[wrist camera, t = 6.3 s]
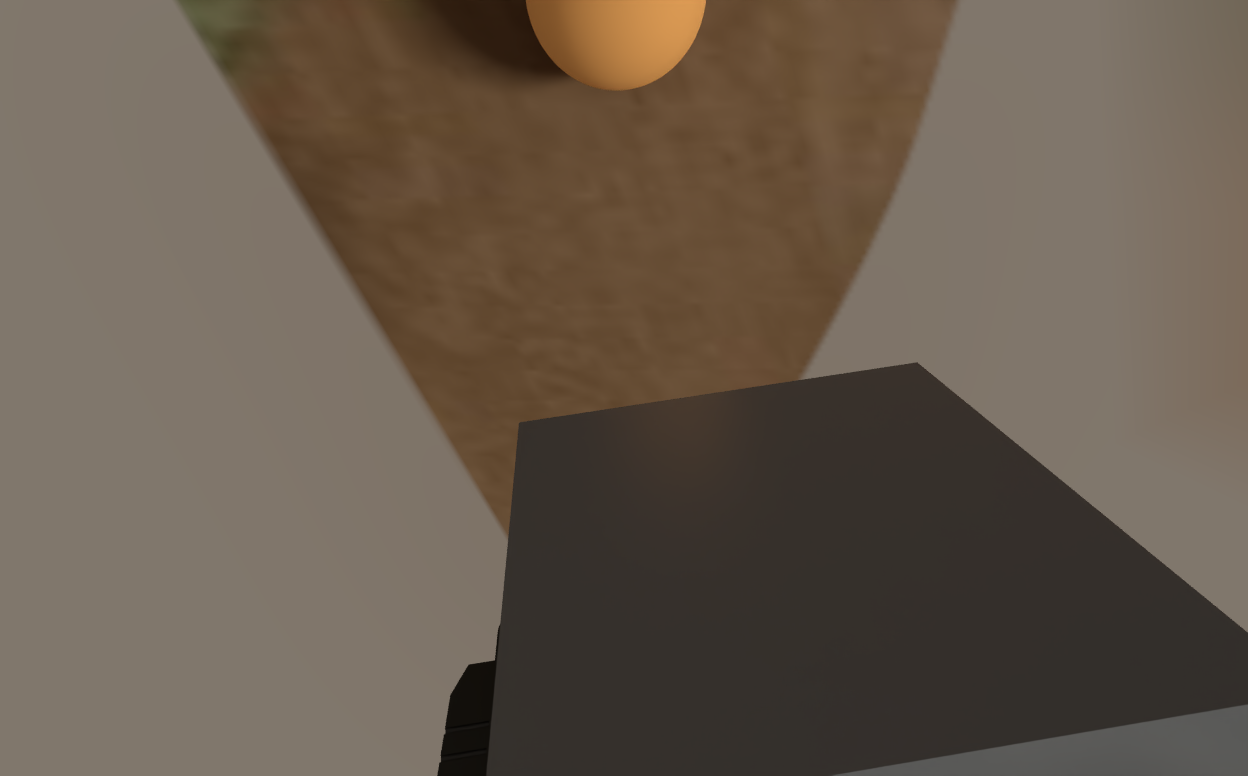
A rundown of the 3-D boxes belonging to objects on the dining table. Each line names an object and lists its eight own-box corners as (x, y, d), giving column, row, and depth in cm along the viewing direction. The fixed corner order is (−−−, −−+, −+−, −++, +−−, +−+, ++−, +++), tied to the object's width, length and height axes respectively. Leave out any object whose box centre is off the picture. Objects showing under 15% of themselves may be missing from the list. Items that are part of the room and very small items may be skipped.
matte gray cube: (579, 705, 14) (600, 1181, 8) (519, 422, 11) (480, 835, 5) (896, 653, 14) (1144, 1078, 8) (917, 361, 11) (1321, 691, 5)
